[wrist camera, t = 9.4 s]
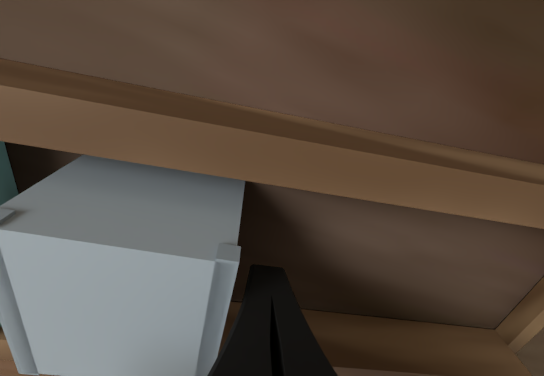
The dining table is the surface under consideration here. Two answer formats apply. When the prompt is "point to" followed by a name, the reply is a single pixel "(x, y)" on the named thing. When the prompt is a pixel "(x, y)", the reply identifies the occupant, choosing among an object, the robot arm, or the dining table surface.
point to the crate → (119, 269)
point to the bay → (299, 175)
